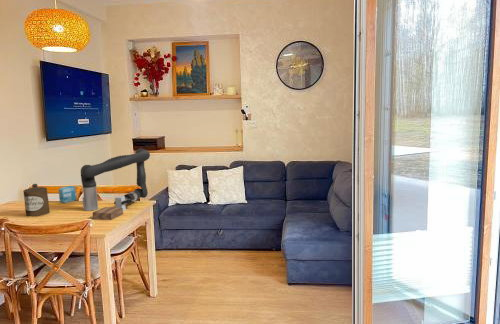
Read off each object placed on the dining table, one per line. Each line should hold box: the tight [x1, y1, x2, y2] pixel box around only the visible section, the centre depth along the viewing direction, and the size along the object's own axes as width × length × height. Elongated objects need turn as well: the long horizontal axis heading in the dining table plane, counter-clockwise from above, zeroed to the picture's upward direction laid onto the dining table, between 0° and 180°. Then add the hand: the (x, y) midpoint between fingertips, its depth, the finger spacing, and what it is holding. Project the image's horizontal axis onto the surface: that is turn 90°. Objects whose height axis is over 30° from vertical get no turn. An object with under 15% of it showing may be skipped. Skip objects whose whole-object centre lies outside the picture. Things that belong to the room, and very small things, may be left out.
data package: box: [58, 185, 77, 204], centre depth 301 cm, size 12×4×12 cm, turn 155°
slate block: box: [114, 195, 127, 212], centre depth 270 cm, size 5×5×10 cm
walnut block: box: [92, 206, 124, 221], centre depth 254 cm, size 14×14×5 cm
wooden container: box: [23, 183, 50, 217], centre depth 264 cm, size 15×15×22 cm
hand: (118, 203), depth 267 cm, fingers closed on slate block, 5 cm apart
